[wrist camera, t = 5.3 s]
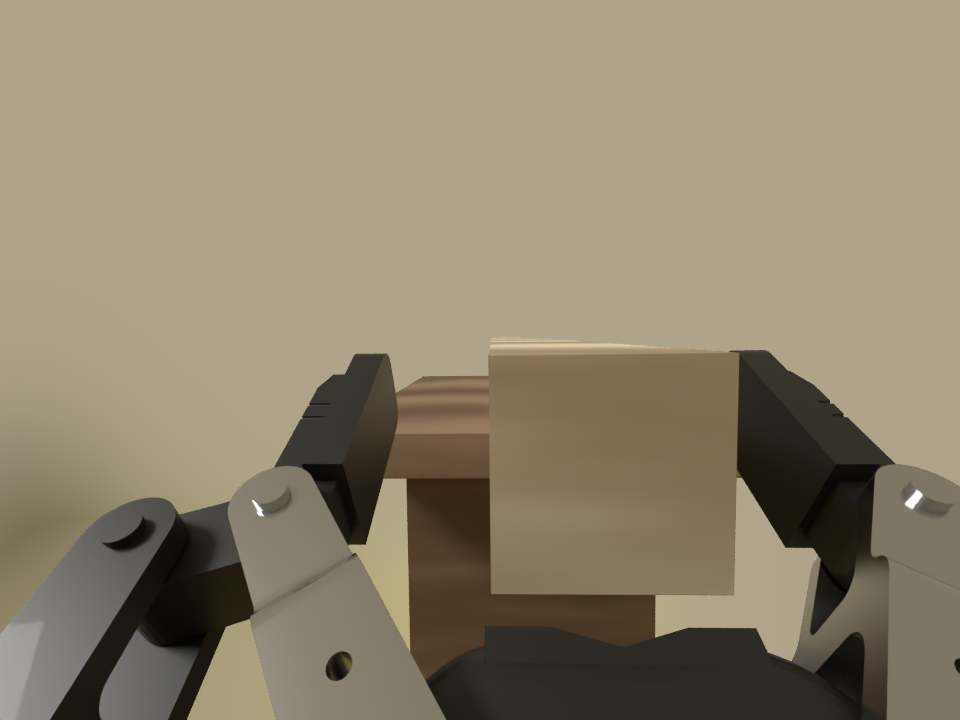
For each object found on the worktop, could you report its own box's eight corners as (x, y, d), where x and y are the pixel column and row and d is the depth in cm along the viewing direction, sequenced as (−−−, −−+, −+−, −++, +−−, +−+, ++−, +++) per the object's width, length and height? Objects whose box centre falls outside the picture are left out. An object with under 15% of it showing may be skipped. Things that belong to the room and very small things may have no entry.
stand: (733, 1295, 16) (755, 432, 14) (355, 1274, 16) (327, 434, 14) (599, 760, 36) (601, 374, 34) (430, 757, 36) (423, 376, 34)
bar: (733, 595, 5) (739, 352, 5) (491, 593, 5) (488, 355, 5) (521, 365, 45) (521, 336, 45) (492, 365, 45) (492, 337, 45)
